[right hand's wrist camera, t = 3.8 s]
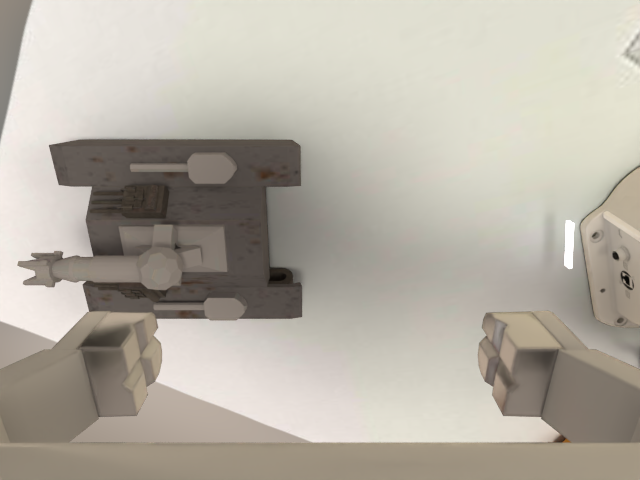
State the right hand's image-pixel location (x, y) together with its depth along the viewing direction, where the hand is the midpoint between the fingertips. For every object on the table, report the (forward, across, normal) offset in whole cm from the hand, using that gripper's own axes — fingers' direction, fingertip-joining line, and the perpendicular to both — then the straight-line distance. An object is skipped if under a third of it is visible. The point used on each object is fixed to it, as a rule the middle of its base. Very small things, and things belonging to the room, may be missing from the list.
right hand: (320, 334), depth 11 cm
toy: (+39, +15, +11) cm, 43 cm away
